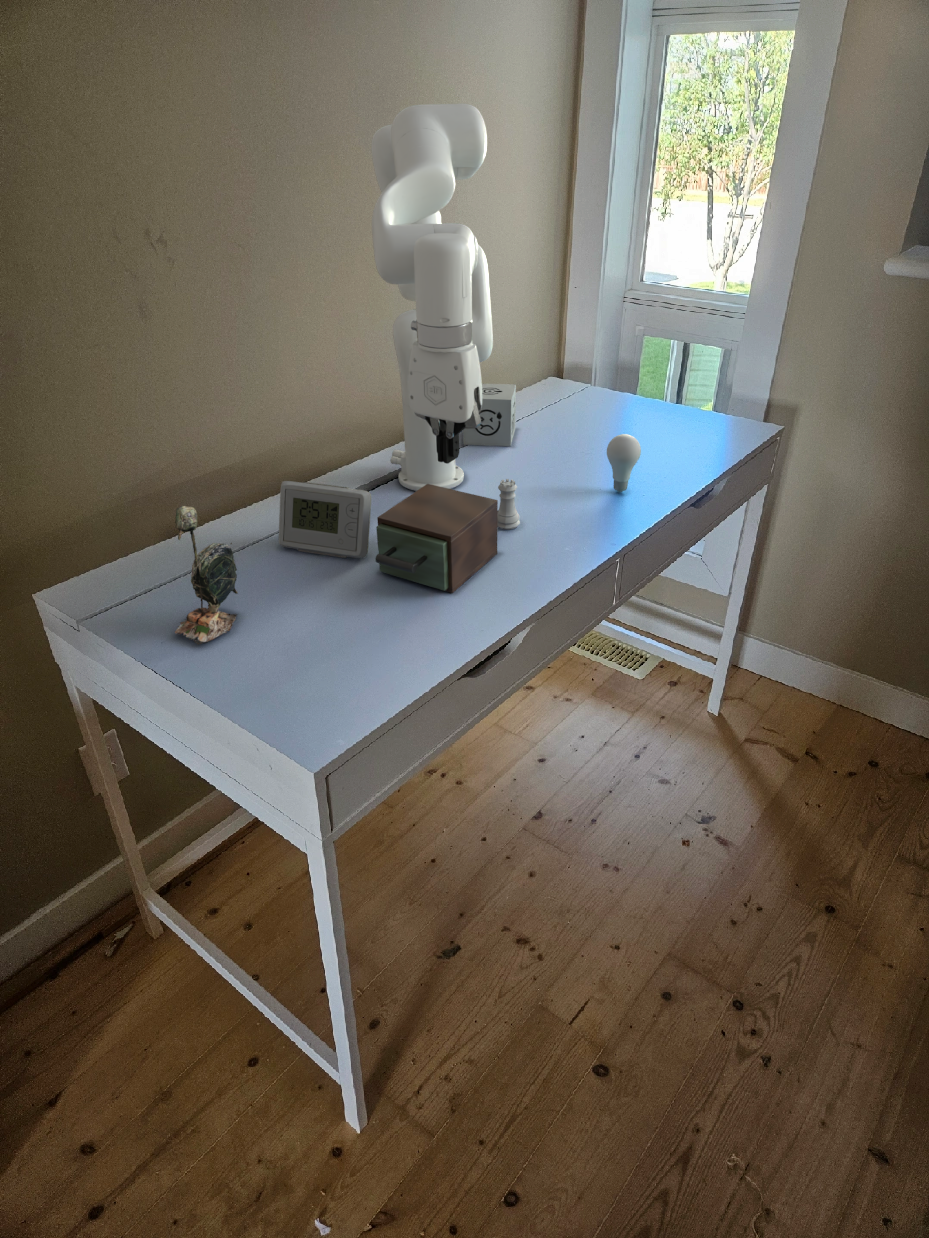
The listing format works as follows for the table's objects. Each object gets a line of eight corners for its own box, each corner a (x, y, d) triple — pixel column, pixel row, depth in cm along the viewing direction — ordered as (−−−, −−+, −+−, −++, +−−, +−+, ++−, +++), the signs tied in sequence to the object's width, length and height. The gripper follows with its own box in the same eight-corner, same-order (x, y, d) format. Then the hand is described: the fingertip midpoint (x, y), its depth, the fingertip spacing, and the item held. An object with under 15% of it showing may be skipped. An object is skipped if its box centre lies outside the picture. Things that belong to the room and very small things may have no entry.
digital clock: (273, 548, 138) (264, 489, 132) (307, 526, 144) (300, 469, 138) (353, 570, 131) (346, 509, 125) (385, 546, 137) (380, 487, 132)
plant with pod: (263, 617, 120) (240, 490, 109) (196, 652, 113) (165, 520, 102) (229, 598, 125) (204, 475, 114) (163, 631, 117) (129, 502, 106)
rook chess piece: (518, 531, 141) (518, 488, 137) (492, 529, 142) (492, 486, 138) (521, 520, 145) (522, 477, 141) (496, 518, 146) (496, 475, 141)
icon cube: (515, 429, 182) (515, 384, 176) (510, 446, 174) (511, 399, 168) (470, 427, 183) (469, 383, 178) (463, 444, 175) (462, 398, 169)
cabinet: (452, 593, 125) (450, 536, 119) (381, 572, 130) (377, 517, 125) (497, 553, 135) (497, 500, 130) (429, 535, 140) (427, 483, 135)
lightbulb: (614, 482, 158) (619, 426, 152) (642, 490, 154) (648, 434, 148) (597, 493, 154) (601, 436, 148) (626, 501, 150) (631, 444, 144)
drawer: (429, 604, 121) (426, 557, 116) (363, 583, 126) (358, 538, 121) (487, 554, 133) (487, 510, 129) (425, 537, 138) (423, 494, 134)
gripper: (384, 333, 114) (392, 458, 124) (477, 349, 107) (478, 479, 117) (415, 320, 119) (421, 441, 129) (506, 334, 112) (504, 461, 122)
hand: (448, 459), depth 123 cm, fingers closed
